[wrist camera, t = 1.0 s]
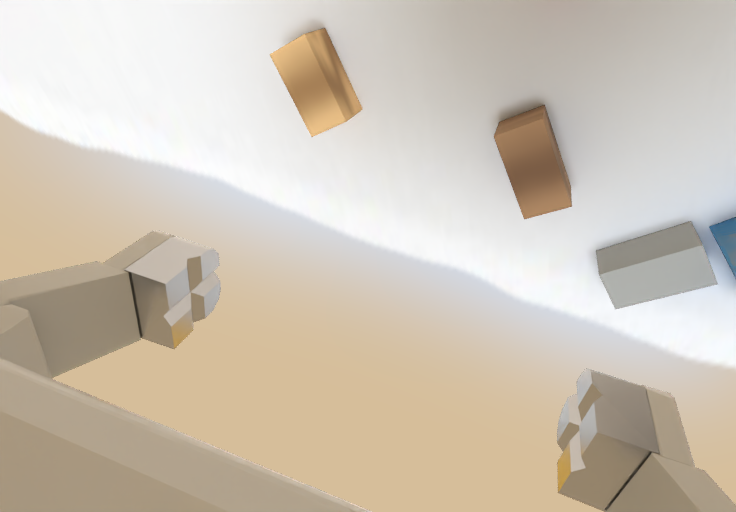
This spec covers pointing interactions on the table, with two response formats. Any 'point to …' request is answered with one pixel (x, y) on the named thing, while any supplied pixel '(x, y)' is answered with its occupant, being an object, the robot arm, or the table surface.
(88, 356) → the robot arm
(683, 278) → the slate block
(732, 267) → the perfume bottle
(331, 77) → the oak block
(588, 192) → the table surface
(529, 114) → the walnut block
